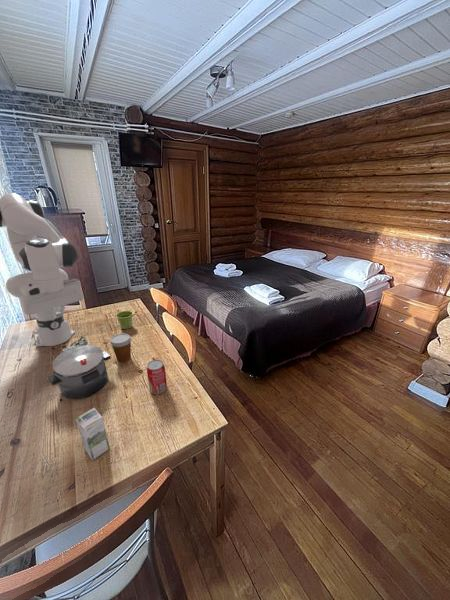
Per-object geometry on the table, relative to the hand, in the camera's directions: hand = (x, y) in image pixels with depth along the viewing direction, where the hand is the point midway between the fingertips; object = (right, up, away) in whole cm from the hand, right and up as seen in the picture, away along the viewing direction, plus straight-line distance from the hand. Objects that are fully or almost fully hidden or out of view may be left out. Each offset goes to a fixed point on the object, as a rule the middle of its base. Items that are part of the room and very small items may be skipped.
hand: (59, 316), depth 101 cm
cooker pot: (+5, -29, +9) cm, 31 cm away
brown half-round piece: (-4, -23, +24) cm, 34 cm away
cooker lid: (+5, -19, +5) cm, 20 cm away
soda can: (+38, -31, +7) cm, 49 cm away
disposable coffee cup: (+16, -23, +25) cm, 37 cm away
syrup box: (+24, -42, -18) cm, 52 cm away
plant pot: (+6, -10, +54) cm, 55 cm away
